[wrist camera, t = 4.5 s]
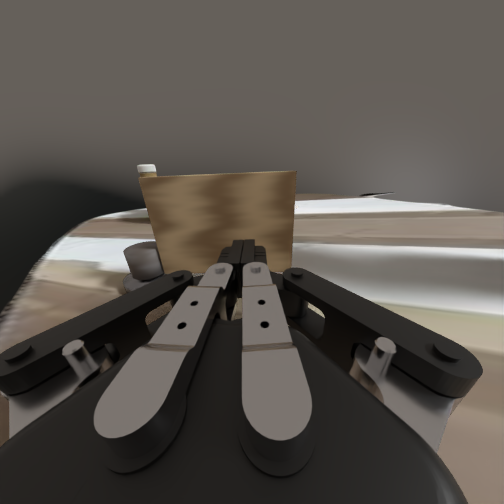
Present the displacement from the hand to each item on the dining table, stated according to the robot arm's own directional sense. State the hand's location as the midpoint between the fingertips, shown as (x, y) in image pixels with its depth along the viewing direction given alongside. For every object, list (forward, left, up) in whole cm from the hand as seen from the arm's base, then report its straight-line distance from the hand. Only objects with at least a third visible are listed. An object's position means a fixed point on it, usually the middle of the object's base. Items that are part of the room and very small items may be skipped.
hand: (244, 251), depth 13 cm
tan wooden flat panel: (+4, -6, -5) cm, 9 cm away
